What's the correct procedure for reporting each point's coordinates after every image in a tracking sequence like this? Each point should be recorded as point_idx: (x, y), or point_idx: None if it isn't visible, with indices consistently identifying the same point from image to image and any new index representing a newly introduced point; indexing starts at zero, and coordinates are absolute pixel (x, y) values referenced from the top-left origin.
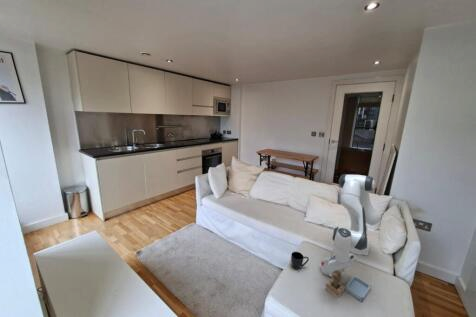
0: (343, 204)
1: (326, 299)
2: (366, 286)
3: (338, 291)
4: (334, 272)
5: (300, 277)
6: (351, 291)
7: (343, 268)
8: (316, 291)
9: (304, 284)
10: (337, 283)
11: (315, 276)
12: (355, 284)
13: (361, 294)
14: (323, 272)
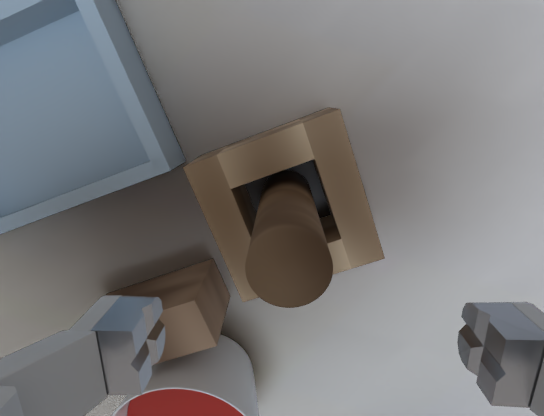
0: None
1: (452, 134)
2: None
3: (326, 128)
4: (173, 344)
5: None
6: (142, 98)
7: (69, 387)
8: (471, 235)
9: None
10: (294, 201)
11: (347, 359)
12: (20, 174)
13: (43, 55)
14: (252, 372)
